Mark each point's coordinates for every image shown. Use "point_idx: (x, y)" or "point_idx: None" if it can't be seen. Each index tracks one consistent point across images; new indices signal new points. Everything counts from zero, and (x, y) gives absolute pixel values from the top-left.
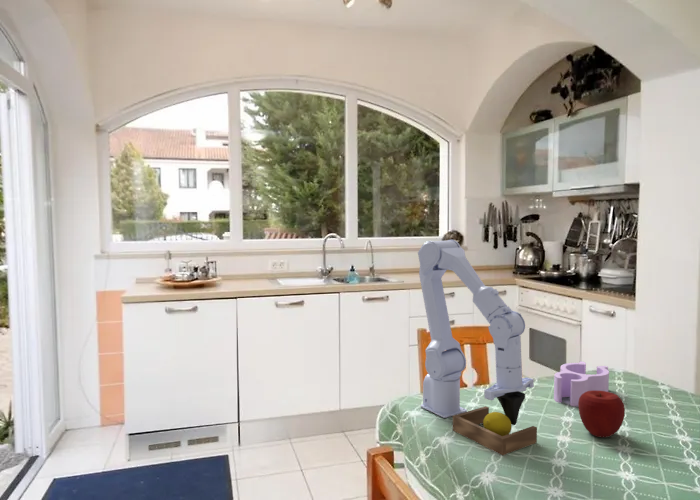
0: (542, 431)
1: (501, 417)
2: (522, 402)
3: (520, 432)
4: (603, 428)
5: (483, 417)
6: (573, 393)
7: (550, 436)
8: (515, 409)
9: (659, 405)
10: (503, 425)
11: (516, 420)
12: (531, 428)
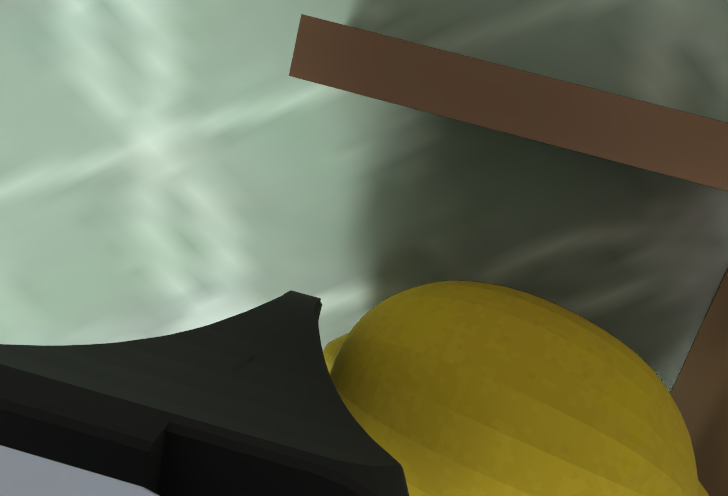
0: (75, 112)
1: (574, 431)
2: (93, 344)
3: (607, 107)
4: None
5: None
6: None
7: (116, 6)
8: (292, 364)
9: None
10: (595, 345)
11: (286, 299)
12: (385, 54)
